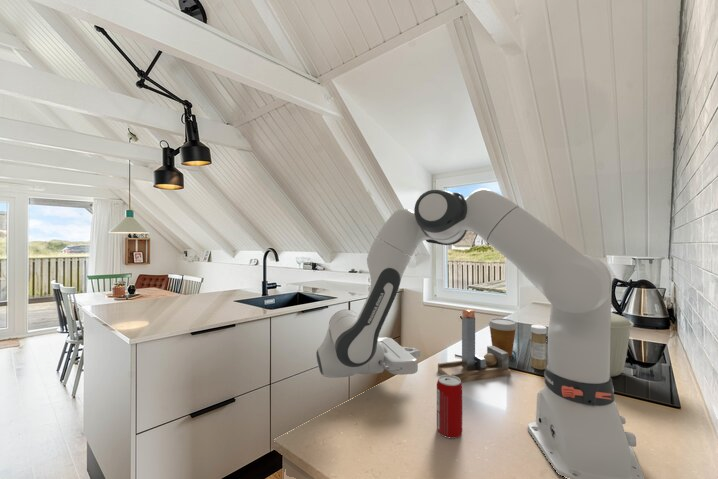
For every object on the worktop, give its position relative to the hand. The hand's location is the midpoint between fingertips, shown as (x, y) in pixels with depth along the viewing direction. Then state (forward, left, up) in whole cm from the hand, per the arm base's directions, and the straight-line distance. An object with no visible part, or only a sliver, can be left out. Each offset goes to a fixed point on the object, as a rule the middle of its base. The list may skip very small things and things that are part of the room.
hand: (418, 351), depth 98 cm
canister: (+25, -53, -9) cm, 59 cm away
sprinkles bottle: (+22, -36, -9) cm, 43 cm away
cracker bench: (+11, -16, -9) cm, 21 cm away
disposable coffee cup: (+31, -26, -9) cm, 41 cm away
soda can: (-23, -10, -9) cm, 27 cm away
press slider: (+10, -15, -7) cm, 19 cm away
